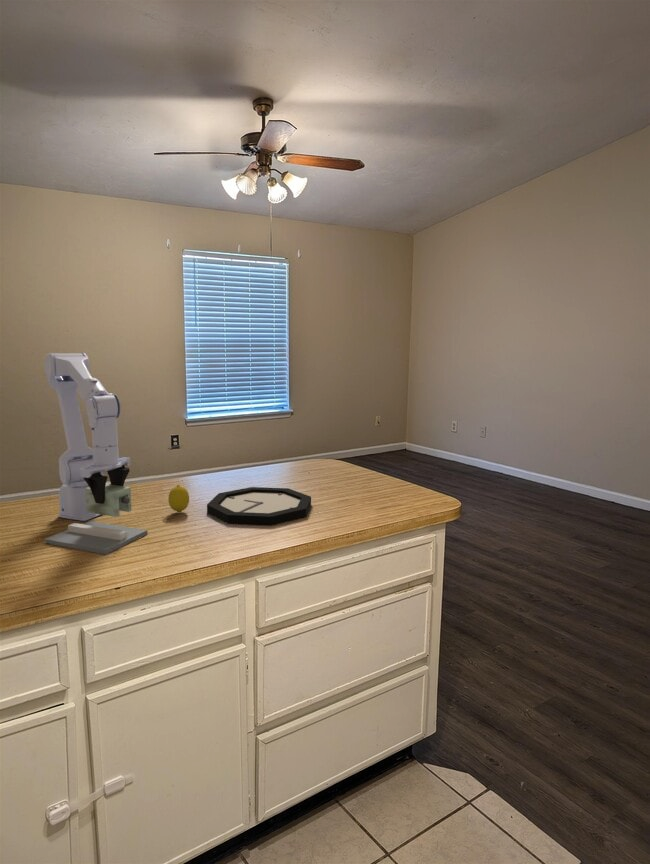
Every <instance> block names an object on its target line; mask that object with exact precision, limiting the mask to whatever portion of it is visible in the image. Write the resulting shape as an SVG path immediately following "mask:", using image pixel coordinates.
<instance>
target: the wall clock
mask: <svg viewBox="0 0 650 864" xmlns="http://www.w3.org/2000/svg"><path fill="white" fill-rule="evenodd" d="M311 506H312V496H311V495H308V494H304V493H302V492H299V491H296V490H294V489H291V488H287V487H286V488H285V487H262V486H261V487H258V486H250V487H244V488H239V489H234V490H229V491H223V492H219V493H217V494H216V495H215V496H214V497H213V498H212V499H211V500H210V501H209V502H208V503H207V504H206V514H208V515H209V516H212V517H214V518H215V519H218V520H219V521H221V522H223V523H225V524H227V525H239V526H241V525H242V526H243V525H244V526H245V525H246V526H264V527H265V526H267V527H268V526H269V527H272V526H276V525H281V524H285V523H288V522H289V523H290V522H292V521H297V520H301V519H305V518H307V516H308V513H309V511H310V508H311Z"/></svg>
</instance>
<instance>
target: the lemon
mask: <svg viewBox="0 0 650 864" xmlns="http://www.w3.org/2000/svg"><path fill="white" fill-rule="evenodd" d="M189 504H190V495H189V492H188V490H187V489H186V488H185V486H182V485H180V484H177V485H176V486H174V487H172V488H171V490H170V491H169V492H168V505H169V507H170V508H171V509H172V511H175V512H177V513H180V514H181V513H182V512H183V511H184V510H186V509H187V508H188V506H189Z"/></svg>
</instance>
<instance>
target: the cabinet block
mask: <svg viewBox="0 0 650 864" xmlns="http://www.w3.org/2000/svg"><path fill="white" fill-rule="evenodd" d="M131 490H132V489H131V487H130V486H118V485H111V483H110V484H109V483H106V485H105V501H104V503H103V504H99V503H96V502H95V499H94V496H93V494H92V491H91V489H90V487H88V488H86V507H87V512H89V513H95V514H101V515H104V516H107V517H108V516H109V517H114V518H117V517H119V516H120V512H127V513H130V512H132V492H131ZM101 515H100V516H101Z"/></svg>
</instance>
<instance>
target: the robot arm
mask: <svg viewBox="0 0 650 864" xmlns="http://www.w3.org/2000/svg"><path fill="white" fill-rule="evenodd" d="M90 364H91V363H90V359H89V356H88V355H87V354H86V353H85V352H79V353H72V352H71V353H67V352H65V353H64V352H63V353H61V352H60V353H53V352H48V353H47V354H46V355H45V358H44V371H45V375H46V381H47V383H48V387H50V388H52V389H54V390H55V392H56V396H57V399H58V404H59V409H60V415H61V420H62V426H63V431H64V434H65V435H64V436H65V441H66V445H67V449H66V450H65V451H64V452H63V453H62V454H61V455H60V456H59V458H58V474H59V479H60V482H61V483H62V485H61V486H60V488H59V490H58V500H59V501H58V502H59V503H58V504H59V514H57V517H58V518H62V519H69V520H76V521H80V522H87V521H90V520H92V519H94V518H96V517H98V516H101V514H95V513H89V512H87V507H86V488H88V487H90V489H91V491H92V494H93V496H94V499H95V502H96V503H99V504H103V503H104V501H105V485H106V484H107V481H108V478H109V482H110V484H111V485H118V486H124V485H125V483H126V479H127V477H128V475H129V473H130V472H131V471H130V466H131V457H128V456H127V457H125V456H122V457H120V454H119V435H118V419H119V417H120V415H121V412H122V411H121V410H122V407H121V402H120V398H119V397H118V395H117V394H115V393H109V392H108V391H107V390H106V388H105V387H104V385H103V384H102V382H101V381H100V380H99V379H98V378H96V377H92V374H91V372H90V371H91V365H90ZM78 395H79V396H80V398H81V400H82V401H83V402H84V404H85V406H86V407H85V411H86V415H87V418H88V425H89V427H90V429H91V443H92V444H91V445H92V447H90V446H88V442H87V437H86V433H85V428H84V427H85V426H84V421H83V416H82V412H81V407H80V406H81V405H80V403H79V397H78ZM128 466H129V467H128ZM105 472H107V475H108V476H107V475H104V473H105Z"/></svg>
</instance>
